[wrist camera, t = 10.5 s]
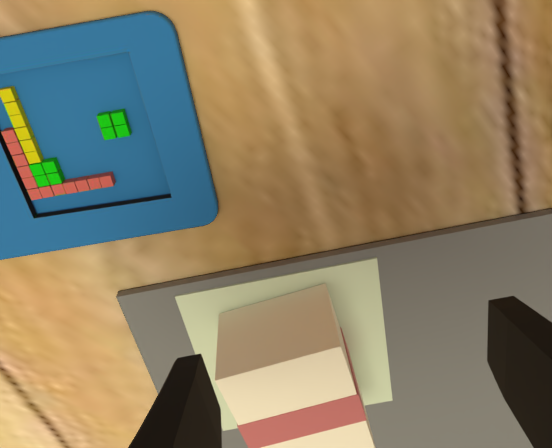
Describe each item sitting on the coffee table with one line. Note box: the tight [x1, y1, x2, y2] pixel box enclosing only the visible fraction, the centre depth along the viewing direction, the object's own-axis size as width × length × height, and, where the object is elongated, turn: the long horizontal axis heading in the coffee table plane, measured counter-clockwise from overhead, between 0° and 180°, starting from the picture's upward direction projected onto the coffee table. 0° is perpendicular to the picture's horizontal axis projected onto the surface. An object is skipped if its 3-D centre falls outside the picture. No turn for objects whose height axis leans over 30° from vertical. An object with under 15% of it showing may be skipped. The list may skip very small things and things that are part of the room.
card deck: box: [215, 283, 376, 448], centre depth 23 cm, size 7×5×4 cm
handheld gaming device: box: [0, 11, 218, 260], centre depth 19 cm, size 8×1×15 cm
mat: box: [116, 209, 552, 448], centre depth 26 cm, size 20×16×1 cm
